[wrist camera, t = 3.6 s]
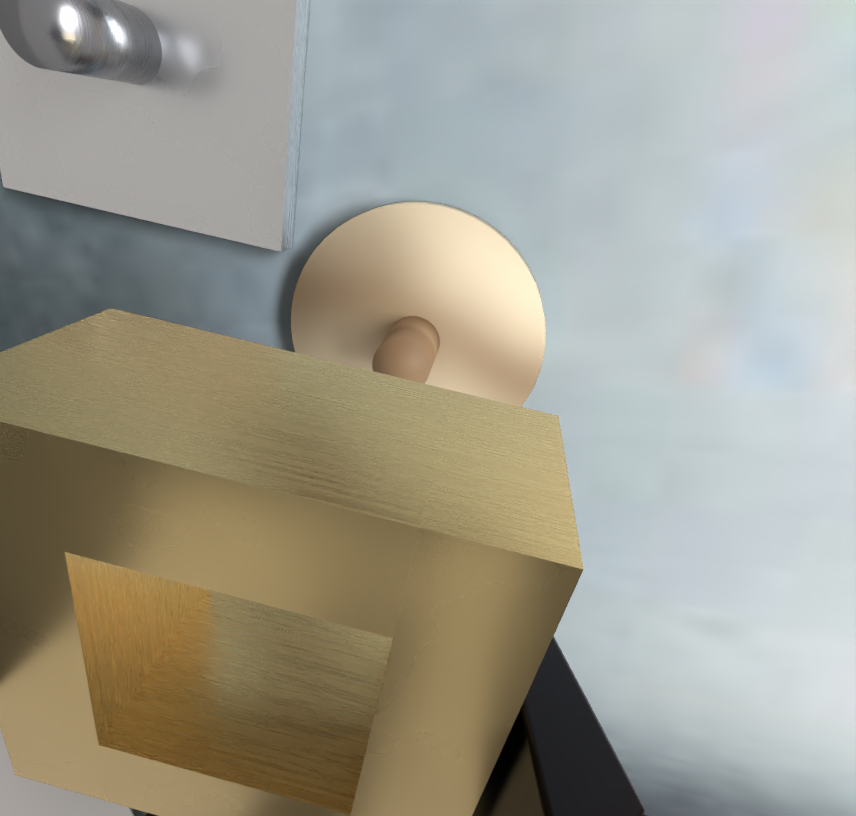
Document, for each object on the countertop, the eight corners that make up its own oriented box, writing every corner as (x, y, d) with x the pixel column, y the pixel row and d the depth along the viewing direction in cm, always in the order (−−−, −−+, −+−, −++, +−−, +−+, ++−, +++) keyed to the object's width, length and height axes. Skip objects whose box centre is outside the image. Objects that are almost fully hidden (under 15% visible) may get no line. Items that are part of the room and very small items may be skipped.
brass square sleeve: (456, 702, 10) (436, 894, 8) (140, 618, 11) (15, 774, 8) (557, 415, 7) (583, 568, 5) (110, 307, 8) (-107, 394, 5)
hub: (292, 246, 19) (231, 273, 15) (26, 184, 19) (-103, 195, 15) (319, -133, 14) (241, -245, 10) (-32, -203, 14) (-242, -338, 10)
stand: (506, 462, 21) (505, 515, 18) (292, 409, 22) (255, 453, 18) (578, 234, 17) (593, 253, 14) (312, 174, 17) (268, 179, 14)
